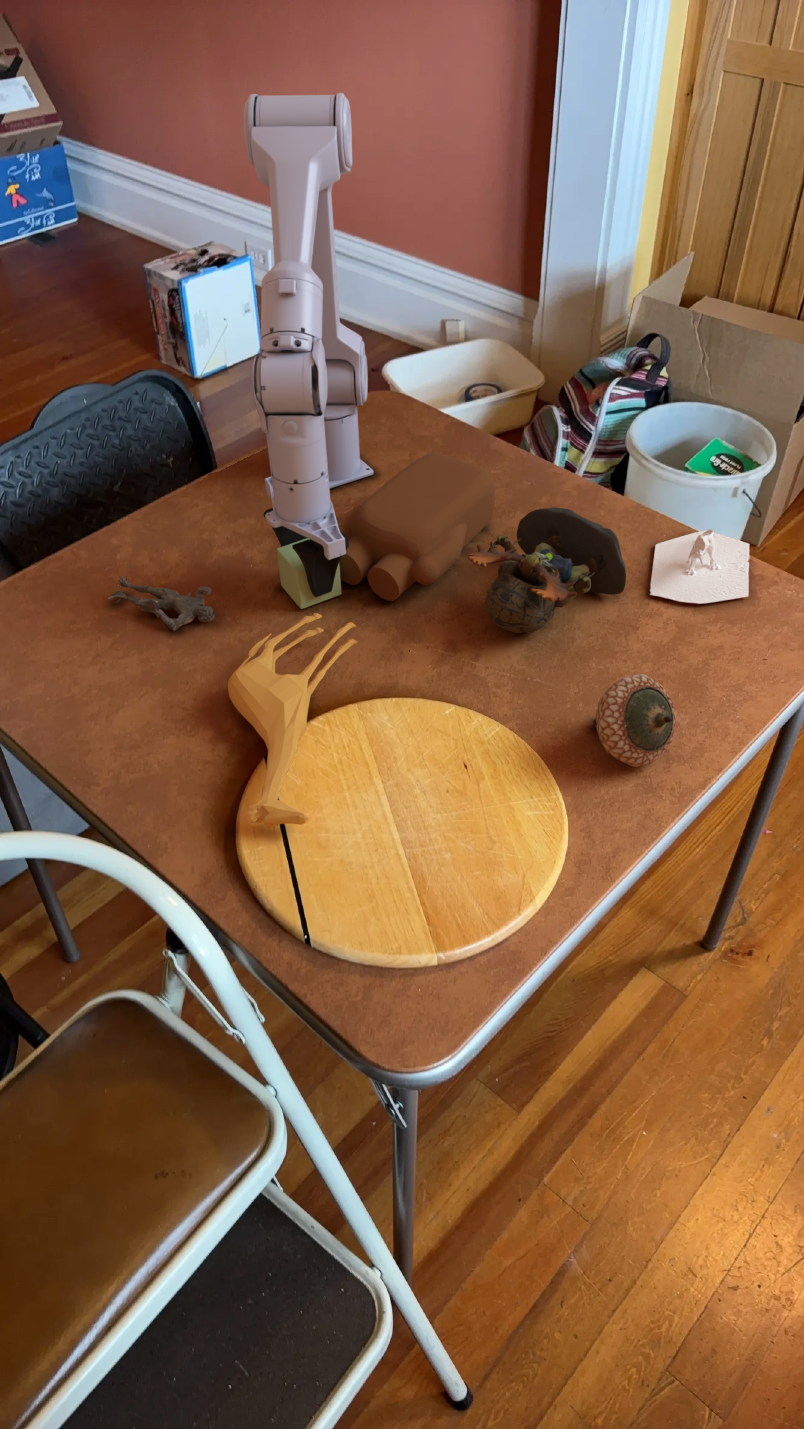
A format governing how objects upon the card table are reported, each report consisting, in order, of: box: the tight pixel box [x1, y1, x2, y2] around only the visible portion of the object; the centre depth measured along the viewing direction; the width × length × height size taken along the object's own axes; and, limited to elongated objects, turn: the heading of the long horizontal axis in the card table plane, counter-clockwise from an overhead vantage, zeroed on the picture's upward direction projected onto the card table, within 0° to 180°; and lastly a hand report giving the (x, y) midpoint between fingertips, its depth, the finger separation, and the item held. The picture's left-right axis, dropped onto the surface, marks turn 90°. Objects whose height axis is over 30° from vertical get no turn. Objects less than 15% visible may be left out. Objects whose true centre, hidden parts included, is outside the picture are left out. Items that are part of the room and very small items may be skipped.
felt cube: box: [276, 538, 342, 610], centre depth 107 cm, size 5×5×5 cm
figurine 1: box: [107, 575, 216, 632], centre depth 106 cm, size 6×4×12 cm
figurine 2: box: [467, 506, 627, 634], centre depth 104 cm, size 14×10×18 cm
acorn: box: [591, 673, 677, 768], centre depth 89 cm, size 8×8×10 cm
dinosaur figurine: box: [649, 529, 750, 605], centre depth 109 cm, size 15×12×6 cm
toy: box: [337, 452, 496, 602], centre depth 112 cm, size 15×8×20 cm
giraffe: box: [227, 612, 359, 829], centre depth 93 cm, size 16×4×25 cm
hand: (310, 579), depth 108 cm, fingers closed on felt cube, 5 cm apart
